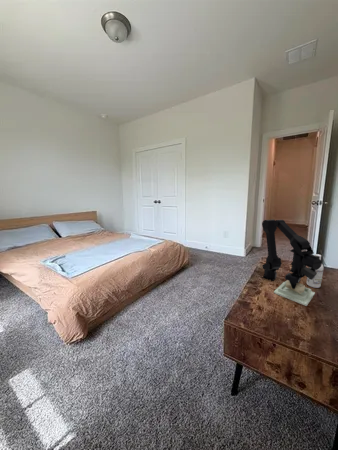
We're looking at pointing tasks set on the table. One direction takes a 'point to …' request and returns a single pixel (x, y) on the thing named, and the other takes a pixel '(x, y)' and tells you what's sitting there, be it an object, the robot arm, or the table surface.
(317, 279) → the bath foam
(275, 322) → the table surface
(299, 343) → the table surface
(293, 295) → the socket board
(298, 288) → the peg
